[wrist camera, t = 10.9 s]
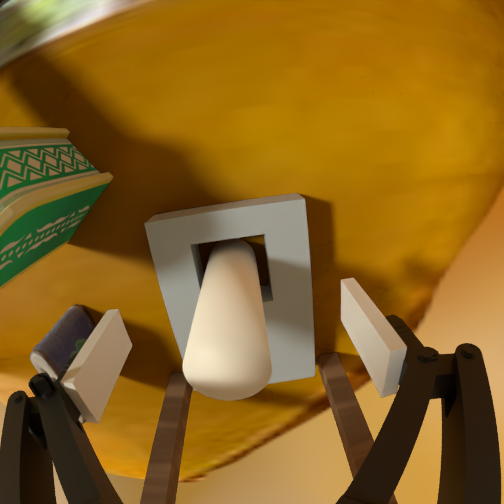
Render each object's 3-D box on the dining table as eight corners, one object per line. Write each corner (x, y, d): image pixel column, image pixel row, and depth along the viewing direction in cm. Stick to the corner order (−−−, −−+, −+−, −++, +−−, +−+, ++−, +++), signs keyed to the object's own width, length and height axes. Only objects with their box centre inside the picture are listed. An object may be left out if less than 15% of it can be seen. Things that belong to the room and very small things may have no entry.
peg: (205, 241, 25) (172, 340, 12) (252, 234, 25) (266, 329, 12) (213, 284, 26) (195, 403, 13) (258, 278, 26) (275, 395, 13)
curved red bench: (157, 336, 28) (81, 585, 4) (337, 313, 28) (454, 563, 4) (176, 385, 30) (138, 599, 7) (336, 365, 30) (411, 578, 6)
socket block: (154, 214, 24) (144, 223, 21) (297, 193, 24) (304, 198, 21) (197, 371, 30) (193, 390, 27) (309, 357, 30) (315, 376, 27)
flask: (67, 304, 27) (14, 364, 17) (87, 301, 27) (35, 366, 17) (99, 371, 30) (66, 437, 20) (119, 370, 30) (89, 441, 20)
